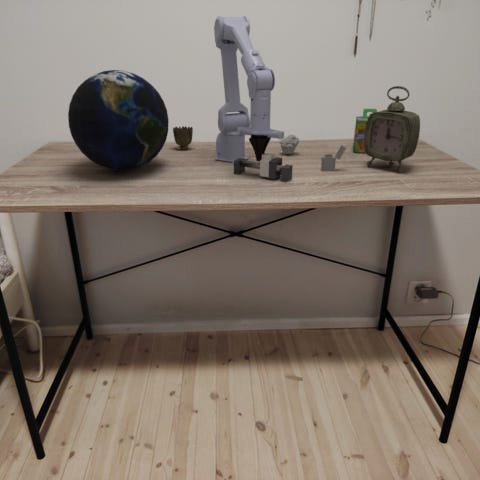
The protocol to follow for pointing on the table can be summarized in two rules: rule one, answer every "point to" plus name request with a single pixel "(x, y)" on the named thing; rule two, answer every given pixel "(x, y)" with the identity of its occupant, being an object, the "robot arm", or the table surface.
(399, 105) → the tabletop clock
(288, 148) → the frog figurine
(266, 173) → the sleeve
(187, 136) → the cup
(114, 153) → the globe
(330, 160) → the lighter
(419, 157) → the table surface
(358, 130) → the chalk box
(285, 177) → the linear slide rail
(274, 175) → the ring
